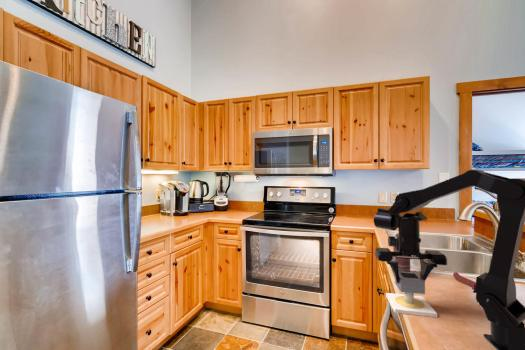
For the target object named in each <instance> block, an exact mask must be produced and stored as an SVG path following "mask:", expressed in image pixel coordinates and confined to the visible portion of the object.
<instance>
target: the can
mask: <svg viewBox="0 0 525 350" xmlns="http://www.w3.org/2000/svg"><path fill="white" fill-rule="evenodd" d="M397 238H398V237H395V239H397ZM392 247H393V246H392ZM392 250H393V251H392V252H399V251H397V250H395V248H394V247H393V249H392ZM402 256H407V255H402ZM396 262H397V263H398V270H399V271H401V272H411V259H404V258H396Z"/></svg>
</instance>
